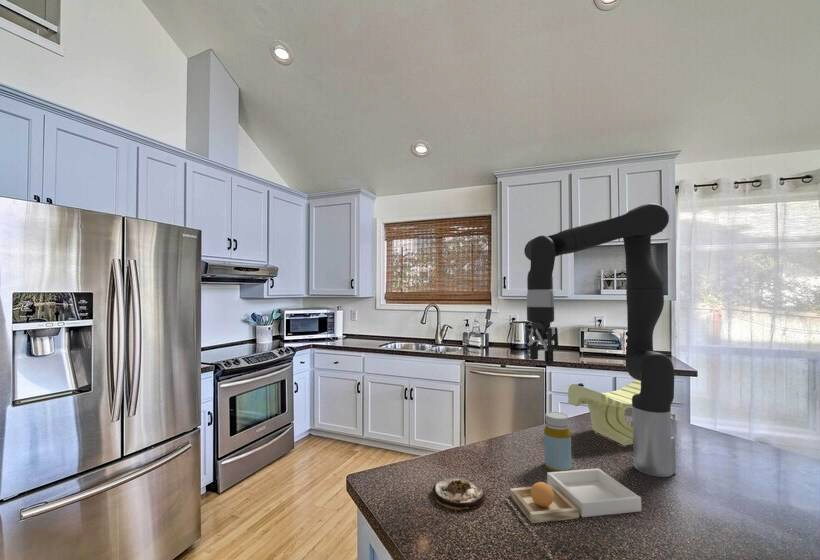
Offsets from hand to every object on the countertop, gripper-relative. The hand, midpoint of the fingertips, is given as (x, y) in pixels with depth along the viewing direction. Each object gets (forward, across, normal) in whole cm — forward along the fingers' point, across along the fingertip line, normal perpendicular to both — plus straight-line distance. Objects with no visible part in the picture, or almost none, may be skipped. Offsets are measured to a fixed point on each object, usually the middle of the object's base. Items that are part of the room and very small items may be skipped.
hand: (541, 361), depth 107 cm
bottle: (+30, -1, -4) cm, 31 cm away
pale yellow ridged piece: (+30, +19, -40) cm, 53 cm away
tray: (+30, -19, +10) cm, 37 cm away
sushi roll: (+31, -11, +28) cm, 43 cm away
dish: (+30, -17, -3) cm, 35 cm away
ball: (+29, -19, +10) cm, 36 cm away
